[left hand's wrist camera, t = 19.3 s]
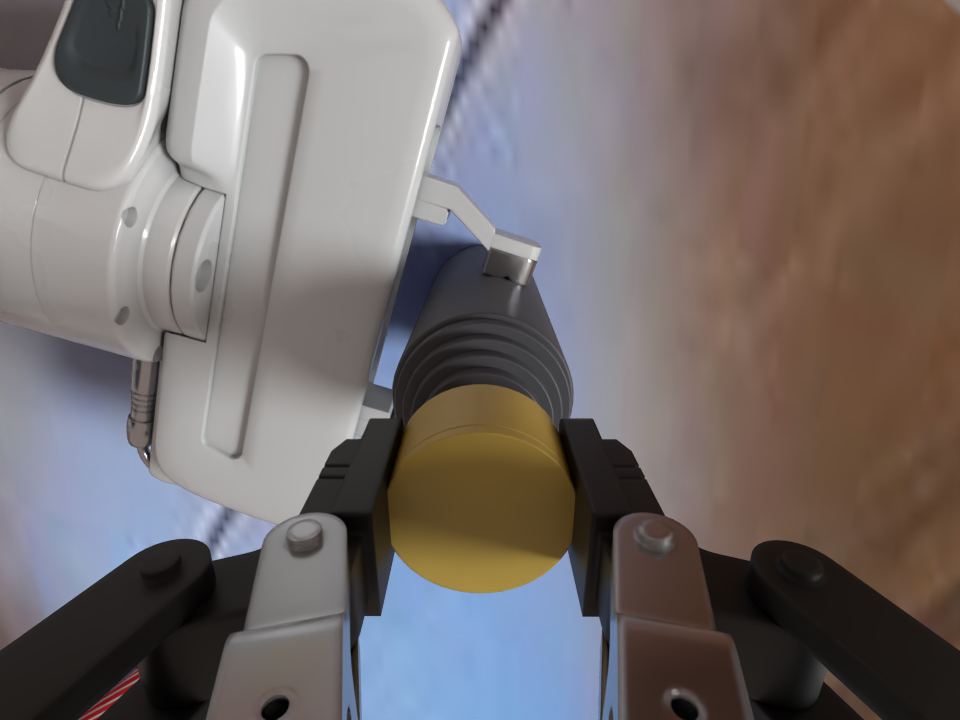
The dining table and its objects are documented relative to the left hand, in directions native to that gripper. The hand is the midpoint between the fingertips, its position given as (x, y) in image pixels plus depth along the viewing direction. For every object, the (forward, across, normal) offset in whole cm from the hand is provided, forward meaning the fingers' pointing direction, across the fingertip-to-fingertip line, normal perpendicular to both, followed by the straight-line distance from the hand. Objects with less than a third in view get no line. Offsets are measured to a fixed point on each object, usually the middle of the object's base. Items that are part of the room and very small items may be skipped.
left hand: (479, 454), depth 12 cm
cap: (-2, 0, 0) cm, 2 cm away
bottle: (+15, 0, 0) cm, 15 cm away
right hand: (+9, -1, 0) cm, 9 cm away
